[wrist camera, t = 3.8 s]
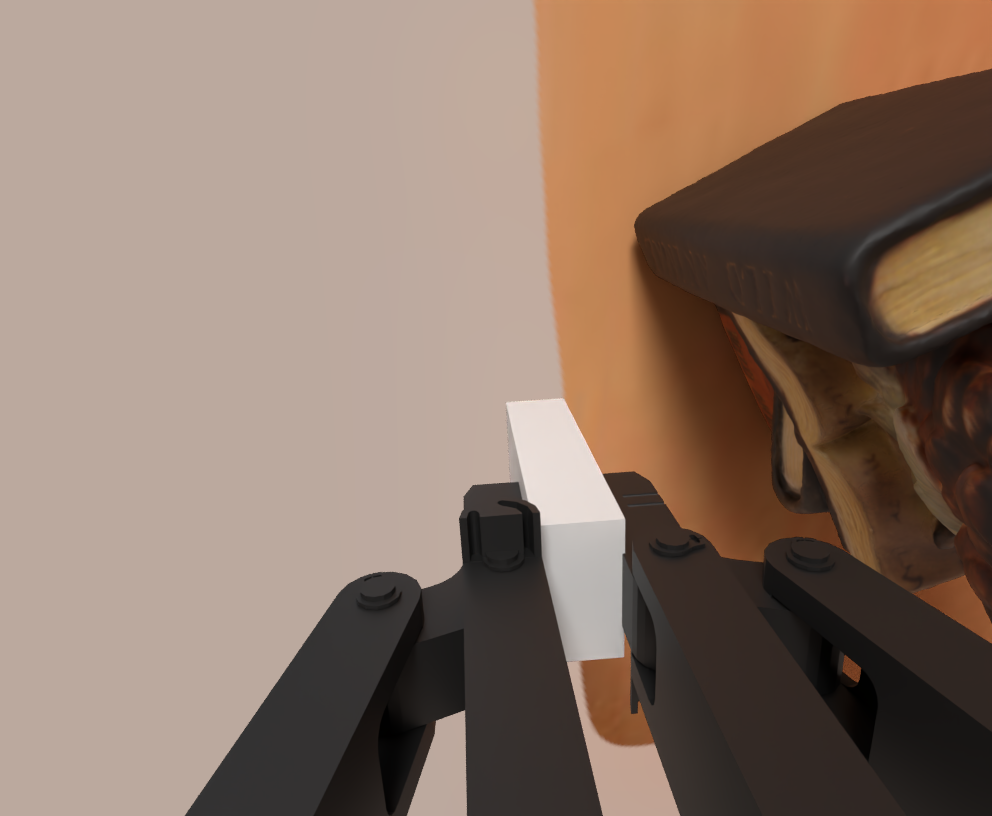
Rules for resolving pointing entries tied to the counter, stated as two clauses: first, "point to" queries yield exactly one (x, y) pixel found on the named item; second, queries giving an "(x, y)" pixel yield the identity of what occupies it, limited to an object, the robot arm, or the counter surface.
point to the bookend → (862, 317)
